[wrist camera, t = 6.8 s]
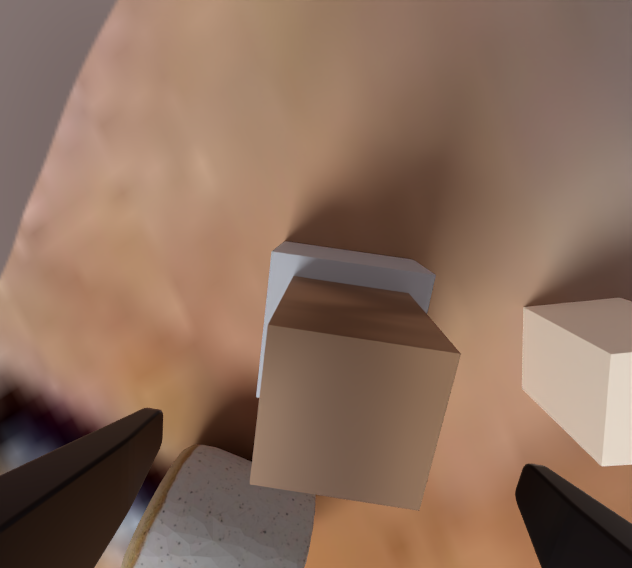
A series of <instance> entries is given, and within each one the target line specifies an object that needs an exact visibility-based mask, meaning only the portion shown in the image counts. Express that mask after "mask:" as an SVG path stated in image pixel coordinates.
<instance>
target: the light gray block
mask: <svg viewBox="0 0 632 568" xmlns="http://www.w3.org/2000/svg"><path fill="white" fill-rule="evenodd" d="M293 276H298V277H304V278H311V279H318V280H324V281H331V282H338V283H345V284H351V285H358V286H365V287H371V288H378V289H385V290H391V291H398V292H405V293H409V294H410V295H411V296H412V297H413V299H414V300H415V301H416V302H417V303H418V304H419V306H420V307H421V308H422V309H423V310H424V311H425V313H426V314H427V312H428V307H429V303H430V299H431V294H432V290H433V285H434V281H435V277H436V275H435V274H434V273H432V272H431V271H429V270H428V269H426V268H425V267H423V266H422V265H420V264H419V263H418V262H416V261H415V260H412V259H406V258H399V257H392V256H385V255H378V254H371V253H364V252H357V251H350V250H343V249H336V248H329V247H322V246H315V245H308V244H301V243H294V242H287V241H284V242H283V243H282V244H280V245H279V246H278V247H277V248H275V249H274V250H273V251H272V253H271V263H270V272H269V281H268V291H267V300H266V309H265V319H264V328H263V337H262V347H261V356H260V365H259V375H258V384H257V393H256V397H258V398H259V397H260V388H261V379H262V371H263V362H264V353H265V345H266V336H267V327H268V323H269V322H270V320H271V318H272V316H273V314H274V312H275V310H276V308H277V306H278V304H279V302H280V300H281V299H282V297H283V295H284V293H285V291H286V289H287V287H288V285H289V283H290V281H291V279H292V278H293Z"/></svg>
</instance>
